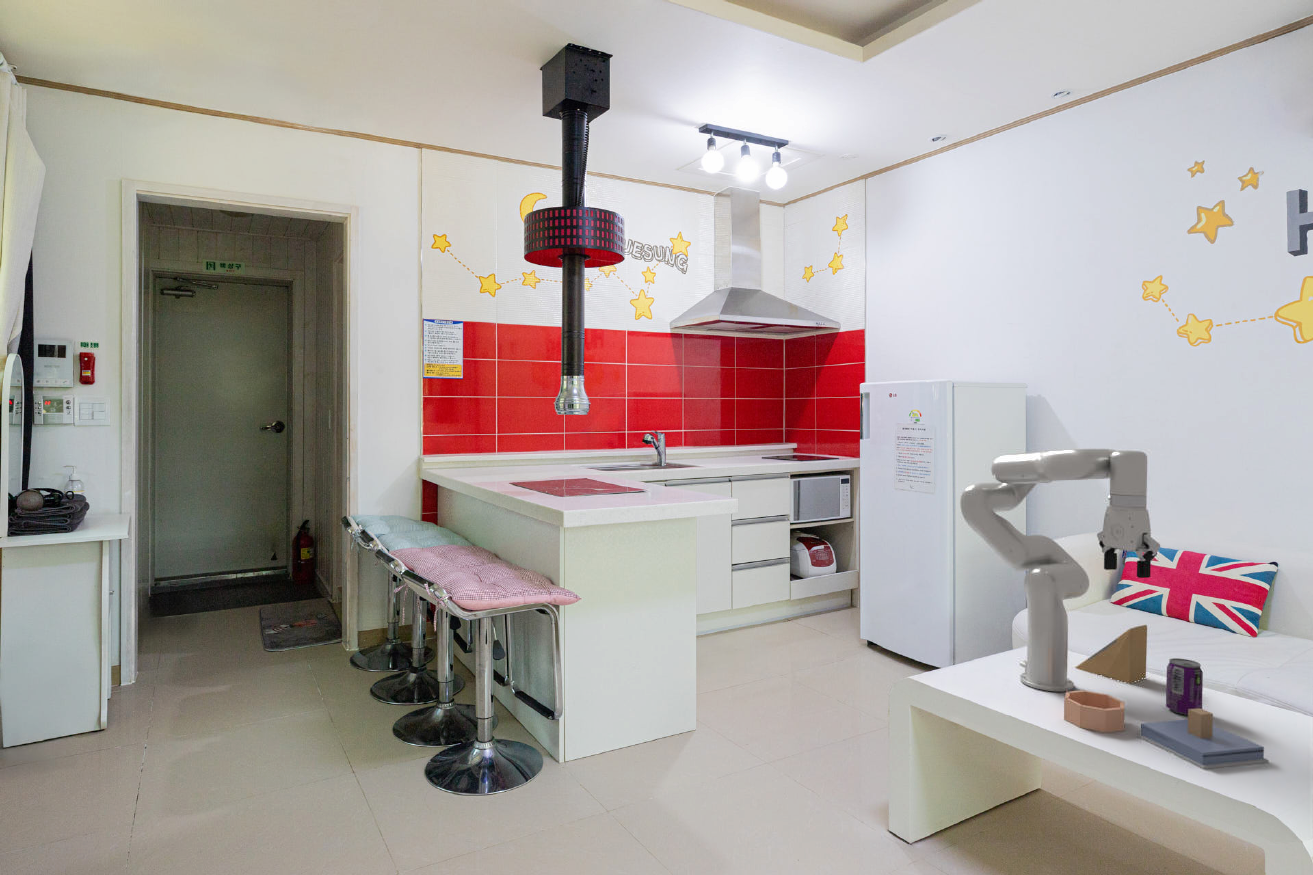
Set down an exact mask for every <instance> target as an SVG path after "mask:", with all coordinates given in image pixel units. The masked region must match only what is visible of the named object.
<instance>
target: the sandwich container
mask: <svg viewBox="0 0 1313 875" xmlns="http://www.w3.org/2000/svg"><path fill="white" fill-rule="evenodd" d="M1147 648H1148V625H1147V624H1144V625H1137V626H1135V627H1132V628H1129V629H1127V630H1126V631H1125V632H1123V633H1122V634H1120V635H1119V636H1117V637H1116V638H1115V639H1113V640H1112V641H1111V642H1109V643H1108V644H1106V645H1105V646H1104V647H1102V648H1101V649H1100V650H1098V651H1097V652H1095V653H1094V654H1092V655H1090V656H1089V657H1088V658H1087V659H1085V660H1084V661H1082V662H1081V663H1079V664H1078V665H1076V666H1075V667H1074V669H1077V670H1080V671H1083V672H1087V673H1091V674H1093V673H1094V675H1096V674H1097V676H1100V675H1102V676H1101V677H1103V676H1104V677H1103V678H1107V679H1110V678H1112V679H1111V680H1114V681H1117V680H1119V681H1118V682H1121V681H1122V682H1121V683H1124V682H1126V683H1125V684H1128V683H1129V685H1131V684H1133V683H1132V682H1135V681H1138V680H1141V679H1142V678H1143V679H1144V678H1146V679H1147V652H1148V651H1147ZM1144 680H1145V679H1144ZM1141 681H1142V680H1141ZM1138 682H1139V681H1138ZM1130 683H1131V684H1130ZM1135 683H1136V682H1135Z"/></svg>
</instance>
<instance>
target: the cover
mask: <svg viewBox="0 0 1313 875" xmlns="http://www.w3.org/2000/svg"><path fill="white" fill-rule="evenodd" d="M1213 715H1214V713H1213V712H1209V711H1208V710H1205V709H1203V708H1202V709H1201V708H1197V709H1188V715H1187V718H1186V719H1177V720H1176V719H1175V720H1174V719H1173V720H1167V721H1166V720H1164V721H1153V722H1141V723H1140V733H1139V734H1140V735H1142V736H1144V737H1146V738H1148V739H1150V740H1152V741H1154V742H1156V743H1159V744H1161V745H1163V746H1165V747H1167V748H1169V749H1171V750H1173V751H1175V752H1177V753H1179V754H1181V755H1183V756H1185V757H1187V758H1189V759H1191V760H1193V761H1195V762H1197V763H1199V764H1201V765H1209V764H1219V763H1229V762H1239V761H1248V760H1258V759H1264V758H1265V757H1264V753H1265V750H1264V749H1265V748H1264V746H1263V745H1261V744H1258V743H1256V742H1254V741H1251V740H1248V739H1247V738H1244V737H1242V736H1239V735H1237V734H1234V733H1232V732H1230V731H1227V730H1225V729H1222V728H1221V727H1219V726H1216V725H1214V724H1213V723H1214V716H1213Z"/></svg>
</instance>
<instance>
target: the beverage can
mask: <svg viewBox="0 0 1313 875" xmlns="http://www.w3.org/2000/svg"><path fill="white" fill-rule="evenodd" d="M1201 666H1202V665H1201V664H1200V662H1197V661H1195V660H1192V659H1187V658H1177V657H1174V658H1169V663H1168V664H1167V666H1166V681H1165V682H1166V688H1165V690H1166V691H1165V692H1166V694H1165V696H1166V697H1165V706H1166V708H1168V709H1169V710H1171V711H1172V712H1174V713H1175V714H1178V713H1179V714H1180V715H1182V714H1184V715H1183V716H1188V709H1197V708H1201V709H1203V688H1204V686H1203V684H1204V682H1203V681H1204V678H1203V676H1204V674H1203V669H1202V668H1201ZM1179 714H1178V715H1179Z"/></svg>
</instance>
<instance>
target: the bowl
mask: <svg viewBox="0 0 1313 875" xmlns="http://www.w3.org/2000/svg"><path fill="white" fill-rule="evenodd" d="M1063 704H1064V706H1063V708H1064V709H1063V710H1064V711H1063V720H1064V721H1067V722H1069V723H1071V724H1072V723H1073V725H1075V726H1076V727H1078V728H1080V727H1082V729H1085V728H1086V730H1090V729H1092V730H1091V731H1096V732H1101V733H1105V732H1106V733H1115V732H1125V719H1126V718H1125V714H1126V709H1125V708H1126V705H1125V704H1126V702H1125V701H1123V700H1121V699H1118V698H1116V697H1114V696H1113V695H1110V694H1108V693H1107V694H1106V693H1100V692H1095V691H1090V690H1085V689H1084V690H1083V689H1082V690H1074V691H1073V690H1069V691H1065V696H1064V700H1063Z"/></svg>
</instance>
